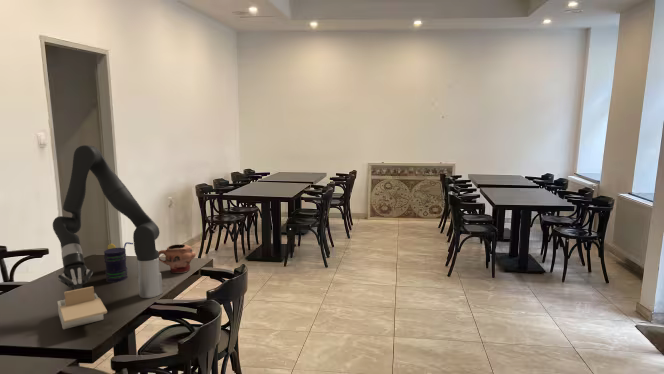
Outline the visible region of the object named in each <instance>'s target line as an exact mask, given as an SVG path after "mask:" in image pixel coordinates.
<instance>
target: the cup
mask: <svg viewBox="0 0 664 374" xmlns="http://www.w3.org/2000/svg"><path fill="white" fill-rule="evenodd" d="M127 245H134V242H127V241H126V242H125V243H124V246H123V248H125V252H126V247H127ZM112 248H117V247H116V245H115V244H114V243H110V244H108V245H107V249H106V250H108V249H112Z"/></svg>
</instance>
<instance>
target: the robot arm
mask: <svg viewBox="0 0 664 374" xmlns="http://www.w3.org/2000/svg"><path fill="white" fill-rule="evenodd" d="M71 169H72V170H71V175H70V179H69V183H68V184H69V185H68V188H67V192H66V195H65V199H64V202H63V205H62V209H63V211H65V212H67V213H71V217H70V216H60V215H59V216H57V217H55V218H54V220H53V221H52V230H53V231H54V234H55V235H56V238H57V239H58V240H59V242H60V249H61V260H62V264H63V271H62V274H59V275H58V281H59V282H61V283H62V284H64V285H65V286H67V287H69V288H71V287H72V288H73V290H76V289H81V288H84V287H83V285H86V284H87V283H88V281H89V280H90V279H91V277H92V275H93V274H94V269H88V267H87V266H86V262H85V258H84V254H83V253H84V252H83V249H82V247H81V241H80V237H79V235H78V234H77V233H78V232H79V231H80V230H81V228H82V208H83V205H84V201H85V197H86V193H87V191H86V190H87V179H88V175H89V172H91V173H92V174H93V175H94V176H95V178H96V179H97V181H98V184H99V186H100V189H101V191H102V194H103V195H104V196H105V198H106V199H107V200H108V202H109V203H110V204H111V206H112V207H113V208H114V209H115V210H116V211H118V212H119V213H120V214H122V215H123V216H125V217H127V218H128V219H129V220H130V222H132V223H133V225H134V227H135V229H134V231H133V236H132V238H133V249H134V254H135V255H136V263H137V265H136V266H137V278H138V279H137V280H138V293H139V294H138V295H139V297H140V298H144V299H151V298H155V297H158V296H159V295H162V294H163V281H162V273H161V269H160V268H161V267H160V260H159V258H160V256H159V251H158V250H157V249H156V240H157V239H158V238H159V236H160V228H159V226H158V225H157V224H156V222H154V221H153V219H152V218H151V217H150V216H149V214H147V213H146V212H145V211H144V209H143V208H142V207H141V205H140V204H139V202H138V201H137V200H136V198H135V196H134V195H132V193H131V192H130V190H129V189H128V188H127V186H126V185H125V184H124V183H123V181H122V180H121V179H120V177H119V176H118V175H117V174H116V173H115V172H114V171H113V170H112V168H111V166H110V165H109V163H108V162H107V160H106V158H105V157H104V156H103V153H102V151H100V149H99V148H98V147H96V146H93V145H85V144H83V145H80V146H78V147H77V148H76V149H75V150H74V152H73V157H72V168H71ZM85 274H86V275H85ZM84 275H85V277H84ZM83 277H84V278H83ZM82 278H83V279H82Z"/></svg>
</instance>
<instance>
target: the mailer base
mask: <svg viewBox="0 0 664 374" xmlns="http://www.w3.org/2000/svg"><path fill="white" fill-rule="evenodd" d="M98 296H99V295H97V293H96V292H94V298H95V299H97V298H99V297H98ZM64 305H66V304H65V299H63V300H62V299H61V300H57V309H58V310H57V311H58V312H57V313H58V318H59V321H60V324H61V327H62V330H66V329H71V328H74V327H75V328H76V327H78V326H83V325H87V324H91V323H96V322H100V321H103V320H105V318H104V314H101V315H97V316H92V317H88V318H84V319H80V320H75V321H71V322H67V323H64V320H63V317H62V314H61V310H60V306H64Z"/></svg>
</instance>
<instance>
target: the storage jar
mask: <svg viewBox="0 0 664 374" xmlns="http://www.w3.org/2000/svg"><path fill="white" fill-rule="evenodd" d="M125 249H126V247H125V248H124V247H116V248H112V249H105V250H104V251H103V253H104V256H103V258H104V263H105V271H104V272H105V278H106V282H108V283H118V281H119V282H122V281H125V280H127V279H128V267H127V262H126V261H127V253H126V252H125Z"/></svg>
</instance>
